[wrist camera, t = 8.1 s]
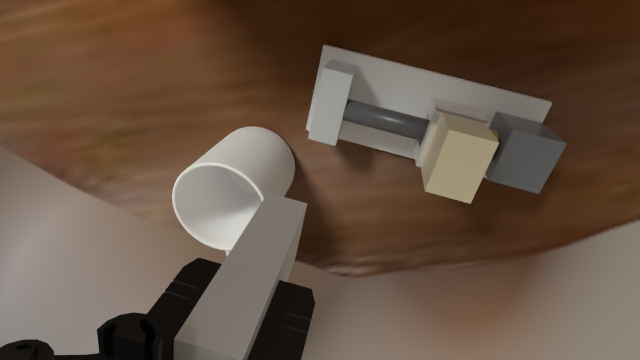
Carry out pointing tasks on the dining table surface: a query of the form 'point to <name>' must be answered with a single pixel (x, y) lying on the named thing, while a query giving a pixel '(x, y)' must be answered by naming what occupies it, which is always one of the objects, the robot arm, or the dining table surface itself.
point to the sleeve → (454, 150)
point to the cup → (232, 185)
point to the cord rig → (409, 108)
